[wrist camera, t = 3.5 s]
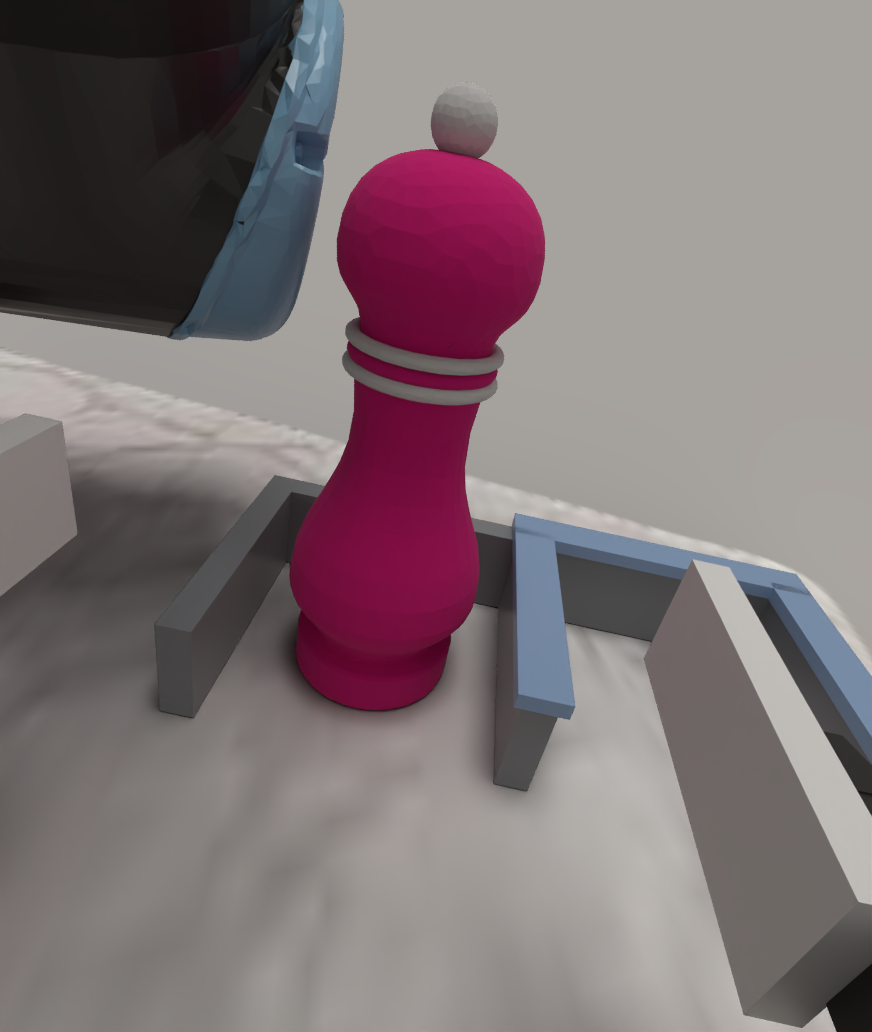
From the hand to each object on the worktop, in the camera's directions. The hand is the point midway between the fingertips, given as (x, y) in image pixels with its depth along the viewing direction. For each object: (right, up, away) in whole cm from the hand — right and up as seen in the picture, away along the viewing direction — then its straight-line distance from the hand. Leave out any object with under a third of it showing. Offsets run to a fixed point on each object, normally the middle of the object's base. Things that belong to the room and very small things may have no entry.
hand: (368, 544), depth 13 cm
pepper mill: (-1, -5, +13) cm, 14 cm away
